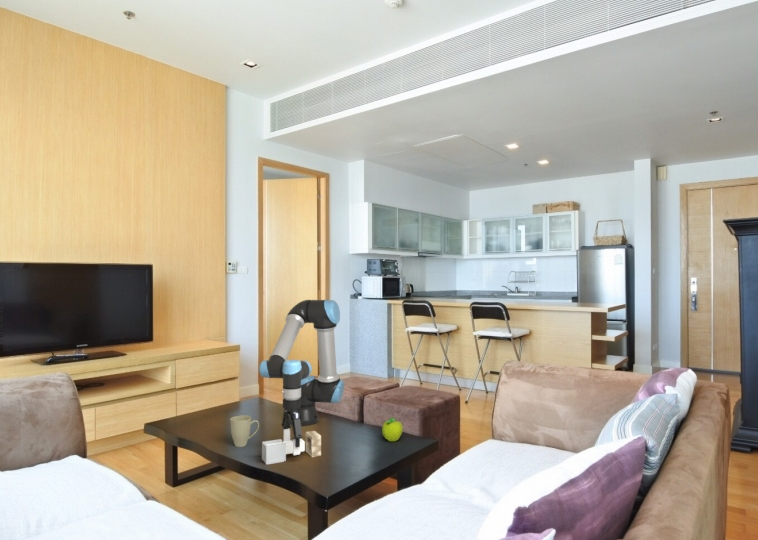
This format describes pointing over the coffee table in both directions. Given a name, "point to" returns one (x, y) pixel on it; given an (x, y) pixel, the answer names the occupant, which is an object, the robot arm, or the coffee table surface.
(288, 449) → the blue-banded white bar
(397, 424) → the fruit
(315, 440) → the beige block
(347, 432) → the coffee table surface
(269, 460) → the sleeve
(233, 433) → the mug
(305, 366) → the robot arm
